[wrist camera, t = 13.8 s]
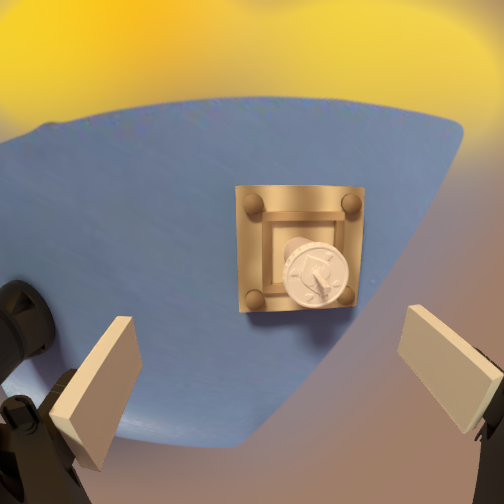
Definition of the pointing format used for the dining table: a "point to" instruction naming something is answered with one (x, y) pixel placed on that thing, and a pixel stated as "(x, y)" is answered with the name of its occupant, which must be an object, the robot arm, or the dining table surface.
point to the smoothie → (313, 272)
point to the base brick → (291, 226)
